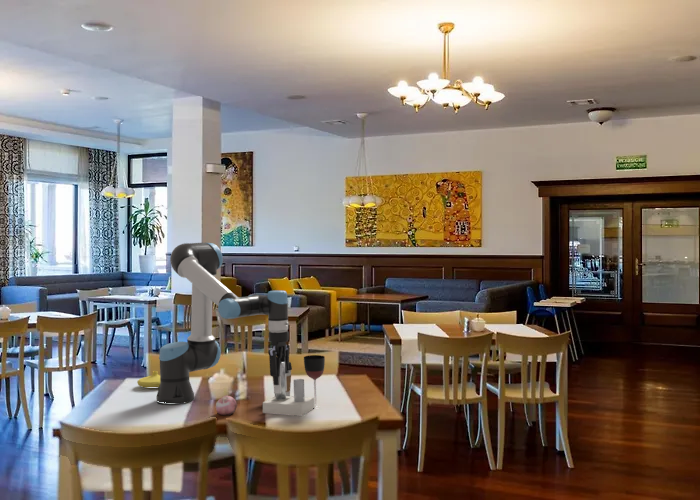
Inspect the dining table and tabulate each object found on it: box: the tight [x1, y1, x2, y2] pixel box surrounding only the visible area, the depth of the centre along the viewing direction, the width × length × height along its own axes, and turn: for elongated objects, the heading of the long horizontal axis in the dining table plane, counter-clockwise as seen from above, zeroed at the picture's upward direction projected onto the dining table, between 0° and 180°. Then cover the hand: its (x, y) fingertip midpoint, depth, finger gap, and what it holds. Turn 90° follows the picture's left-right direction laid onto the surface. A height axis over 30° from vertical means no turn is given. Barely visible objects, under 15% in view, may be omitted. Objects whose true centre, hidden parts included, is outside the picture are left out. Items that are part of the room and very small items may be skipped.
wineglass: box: [303, 354, 326, 407], centre depth 272 cm, size 8×9×20 cm
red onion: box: [215, 394, 238, 416], centre depth 266 cm, size 8×8×7 cm
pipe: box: [274, 361, 286, 400], centre depth 269 cm, size 4×4×14 cm
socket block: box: [262, 378, 315, 417], centre depth 268 cm, size 16×12×12 cm
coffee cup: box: [271, 361, 293, 396], centre depth 286 cm, size 8×8×15 cm
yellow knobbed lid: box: [136, 370, 160, 388], centre depth 317 cm, size 16×16×7 cm
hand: (280, 391), depth 270 cm, fingers closed on pipe, 4 cm apart
